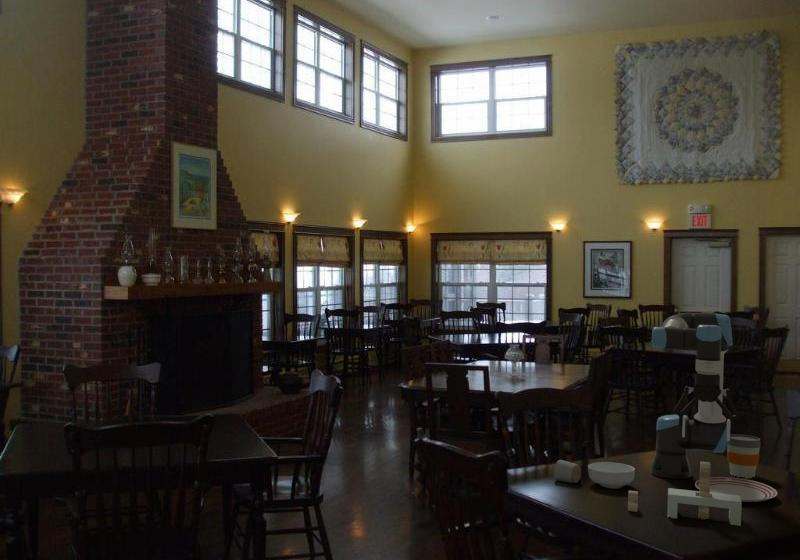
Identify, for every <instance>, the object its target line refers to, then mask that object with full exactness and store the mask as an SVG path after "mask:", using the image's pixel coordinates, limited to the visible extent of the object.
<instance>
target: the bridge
mask: <svg viewBox="0 0 800 560" xmlns="http://www.w3.org/2000/svg"><path fill="white" fill-rule="evenodd" d="M678 504H685V505H693V506H699V505H700V506H709V508H710V507H712V508H719V509H727V510H728V520H729V524H730V525H731V526H732V525H733V526H738V527H739V526H740V527H741V526H742V504H743V503H742V502H741V499H740V496H739V495H729V494H719V493H710V495H709V497H700V496H699V491H698V490H689V489H680V488H679V489H678V488H671V487H668V488H667V510H666V511H667V515H666V516H667V517H666V518H669V517H671V518H670V519H678V506H679V505H678Z"/></svg>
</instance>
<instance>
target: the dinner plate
mask: <svg viewBox="0 0 800 560" xmlns="http://www.w3.org/2000/svg"><path fill="white" fill-rule="evenodd" d="M699 484H700V478H699V479H697V480H696V481H695V482H694V486H695V488H696V489H698V490H699ZM710 493H719V494H729V495H739V496H740V499H741V502H754V503H759V502H765V501H768V500H771V499H773V498H775V497H776V496H778V491H777V490H776V489H775V488H773V487H772V486H770V485H767V484H765V483H763V482H759V481H755V480H751V479H747V478H739V477H727V476H726V477H725V476H713V477H712V476H710Z"/></svg>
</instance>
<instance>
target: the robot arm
mask: <svg viewBox="0 0 800 560" xmlns="http://www.w3.org/2000/svg"><path fill="white" fill-rule="evenodd" d="M651 331H652V332H651V347H652V348H653V349H658V350H661V351H662V350H673V351H674V350H675V351H687V352H688V351H689V352H691V351H692V352H695V371H696V373H695V375H694V380H695V381H694V387H690V386H688V385H685V387H684V391H683V394H682V396H681V397H680V399H679V400H678V402H677V404H676V406H675V407H674V408H673V414H666V415H661V416H659V417H658V418H657V420H656V428H655V430H656V438H655V439H656V440H655V455H654V456H653V460H652V463H651V465H650V473H651V475H652V476H656V477H659V478H662V479H663V478H665V479H671V480H672V479H673V480H684V479H685V480H687V479H690V478H691V477H692V469H691V466H690V462H689V459H688V450H689V451H697V452H706V453H711V454H713V453H714V454H715V453H717V454H718V453H719V454H723V453H725V451H727V448H728V446H727V442H728V441H730V435H731V431H734V430H735V420H736V421H737V420H740V419H741V415H740V413H739V411H738V409H737V407H736V405H735V403H734V400H733V398H732V397H731V390H730V389H729V388H726V389H725V388H724V366H725V365H724V360H725V353H727V352H728V351H729V347H731V346H733V343H734V342H733V334H732V325H731V318H730V316H729V315H727V314H721V313H712V312H710V313H708V312H707V313H706V312H705V313H704V312H681V313H678V314H673V315H671V316H669V317H668V318H665V320H664V321H663V323H662V325H661V326H654V327H652V330H651ZM692 392H693V393H694V394H695V396H694V397H693V398H692V399H691V400H690V401H689V402H688V404H686V406H684V407H683V408H682V406H683V404H684V402H685V401H686V399H687V397H688V395H689V394H691V393H692ZM723 396H724V397H726V399H727V401H728V403H729V405H730V407H731V409H732V411H733V414H732V413H731V412H730V411H729V409H728V408H727V407H726V405H725V404H724V403H723ZM697 403H698V404H697ZM696 404H697V405H698V409H697V410H698V411H697V412H696V413H695V414H694V415H693V419H689V416H688V415H686V414H687V412H688V411H690V409H691V408H692V407H693V406H694V405H696ZM681 408H682V409H681ZM680 409H681V411H680ZM723 412H724V414H725V415H726V417H728V419H727V418H726V417H725V416H724V415H723Z"/></svg>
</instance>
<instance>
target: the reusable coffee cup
mask: <svg viewBox="0 0 800 560" xmlns="http://www.w3.org/2000/svg"><path fill="white" fill-rule="evenodd" d="M761 445H762V444H761V438H759V437H756V436H753V435H746V434H730V441H728V442H727V449H726V455H727V456H726V457H727V462H728V465H729V466H728V467H729V473H730V474H731V475H730V476H732V475H734V476H733V477H735V476H737V477H736V478H739V477H745V478H744V479H753V478H752V477H754V478H755V476H756V471H757V466H758V465H759V461H760V454H761V453H760V448H761Z"/></svg>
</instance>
